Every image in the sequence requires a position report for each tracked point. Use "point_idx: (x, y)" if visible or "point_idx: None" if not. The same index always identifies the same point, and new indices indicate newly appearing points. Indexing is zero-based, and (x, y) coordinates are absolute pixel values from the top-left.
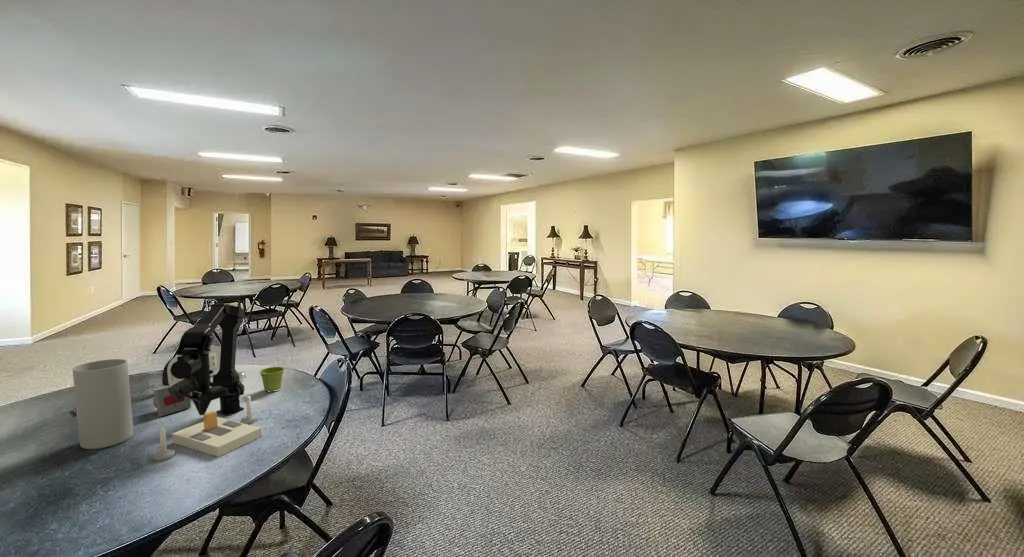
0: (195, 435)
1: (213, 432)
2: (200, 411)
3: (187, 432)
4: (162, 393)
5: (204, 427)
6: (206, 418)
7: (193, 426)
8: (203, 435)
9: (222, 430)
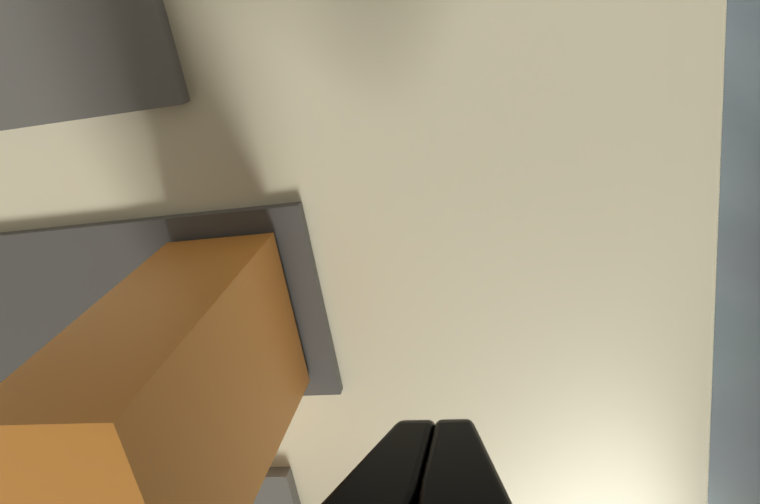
0: (109, 15)
1: (39, 248)
2: (335, 501)
3: (448, 6)
4: None
5: (249, 250)
6: (44, 369)
7: (650, 213)
8: (13, 101)
9: (30, 347)
